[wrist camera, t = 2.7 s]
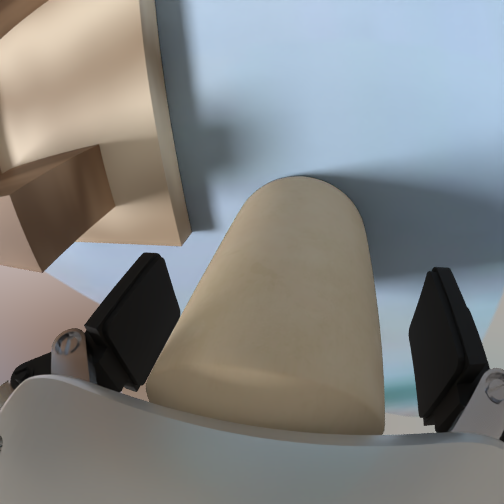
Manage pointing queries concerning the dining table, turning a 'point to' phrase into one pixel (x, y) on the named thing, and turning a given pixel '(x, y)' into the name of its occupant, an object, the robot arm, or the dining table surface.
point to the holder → (84, 130)
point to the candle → (282, 320)
